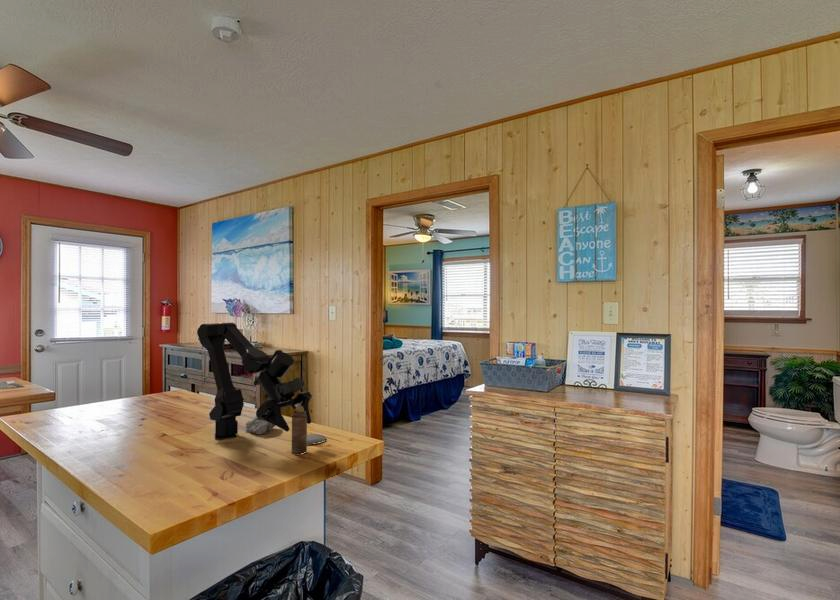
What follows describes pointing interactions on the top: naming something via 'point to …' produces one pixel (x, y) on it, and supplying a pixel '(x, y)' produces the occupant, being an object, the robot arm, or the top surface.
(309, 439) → the slate coaster
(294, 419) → the pepper mill
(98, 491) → the top surface
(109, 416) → the top surface
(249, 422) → the mineral specimen
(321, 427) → the top surface
